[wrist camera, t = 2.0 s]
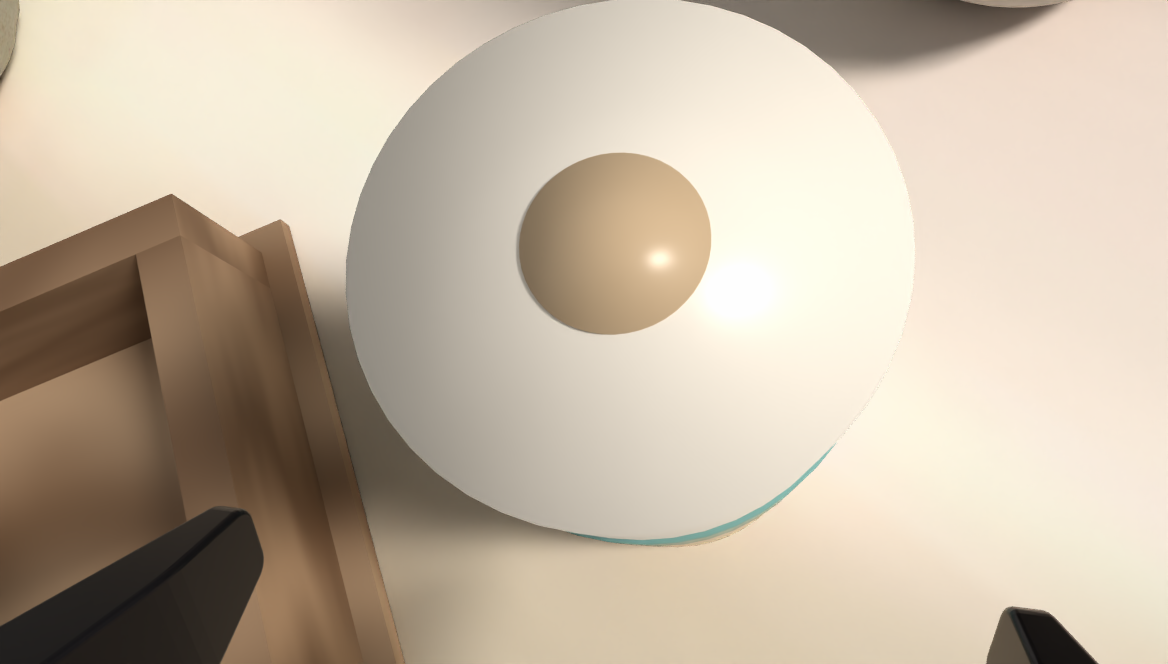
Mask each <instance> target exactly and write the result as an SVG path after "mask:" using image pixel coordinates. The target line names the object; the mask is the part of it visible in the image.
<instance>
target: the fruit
mask: <svg viewBox="0 0 1168 664" xmlns="http://www.w3.org/2000/svg"><path fill="white" fill-rule="evenodd" d="M19 10H20V9H19V0H0V76H1V75H2V73H3V71H4V70H5V68H6V66H7V64H8V62H9V60H10V57H11V54H12V51H13V48H14V45H15V37H16V26H17V21H18V15H19Z"/></svg>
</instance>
